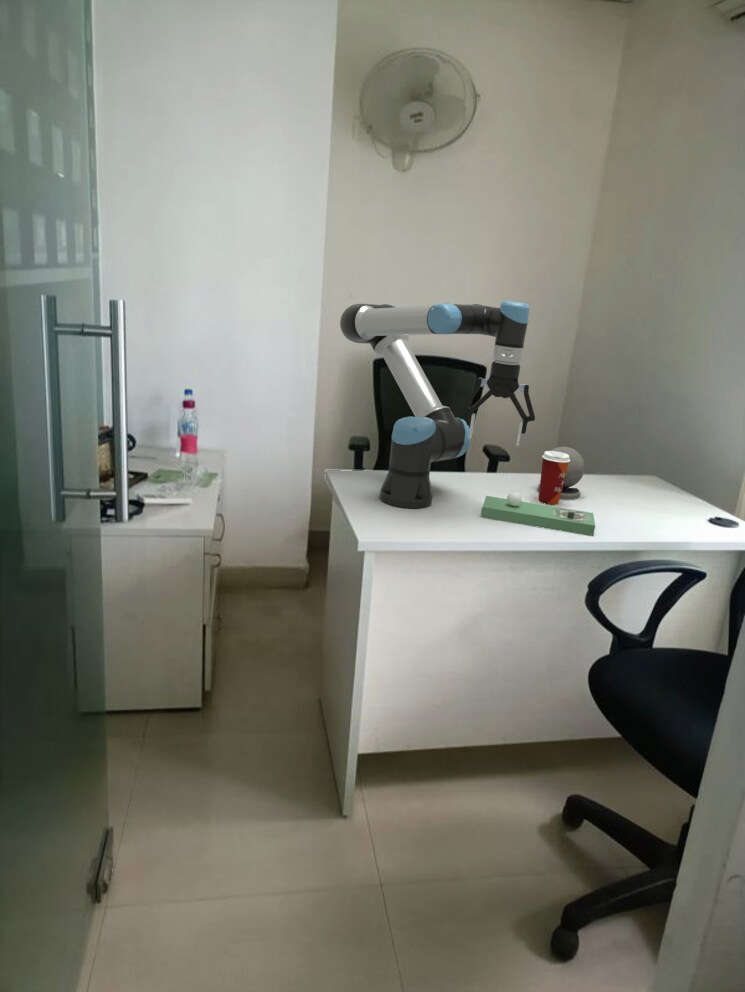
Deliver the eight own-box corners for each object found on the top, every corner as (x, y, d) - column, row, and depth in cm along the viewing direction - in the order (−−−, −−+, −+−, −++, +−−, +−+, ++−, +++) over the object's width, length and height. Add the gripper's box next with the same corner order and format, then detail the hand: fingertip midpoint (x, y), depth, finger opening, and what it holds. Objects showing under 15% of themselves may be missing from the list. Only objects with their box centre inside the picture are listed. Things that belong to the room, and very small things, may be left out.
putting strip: (481, 517, 194) (482, 506, 193) (484, 505, 205) (486, 495, 204) (593, 536, 188) (595, 525, 187) (591, 522, 199) (593, 512, 198)
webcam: (584, 493, 226) (593, 448, 221) (571, 502, 215) (581, 455, 211) (545, 484, 232) (553, 440, 227) (531, 492, 222) (539, 446, 217)
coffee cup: (562, 507, 209) (571, 459, 205) (534, 503, 211) (543, 455, 206) (561, 499, 217) (570, 452, 213) (534, 495, 219) (542, 448, 214)
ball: (505, 506, 196) (507, 493, 194) (506, 502, 199) (508, 489, 198) (519, 509, 195) (522, 495, 193) (520, 504, 198) (522, 491, 197)
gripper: (458, 357, 185) (447, 437, 192) (553, 370, 181) (538, 451, 188) (462, 354, 192) (451, 431, 199) (553, 366, 188) (539, 444, 195)
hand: (493, 441), depth 193 cm, fingers open, 12 cm apart
